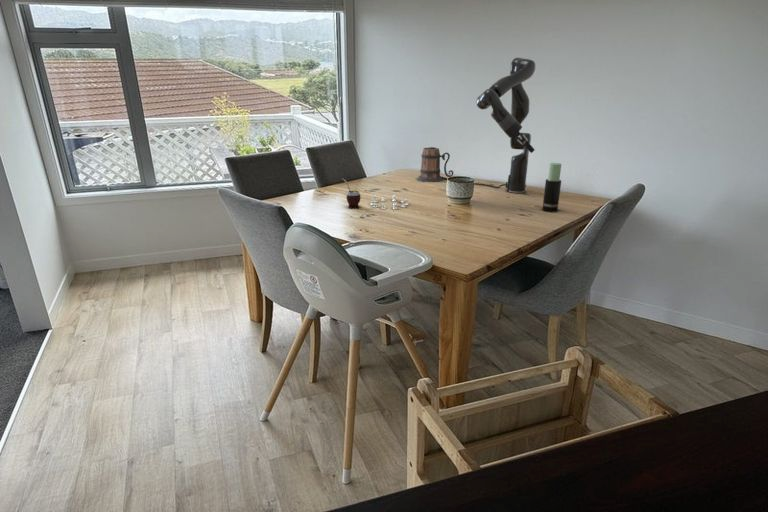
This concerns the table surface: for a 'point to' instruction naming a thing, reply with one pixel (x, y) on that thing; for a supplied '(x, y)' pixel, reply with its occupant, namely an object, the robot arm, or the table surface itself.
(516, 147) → the robot arm
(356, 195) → the mate gourd
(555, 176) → the cap
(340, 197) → the table surface
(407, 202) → the game piece set
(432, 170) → the tankard
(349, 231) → the table surface
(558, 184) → the thermos
